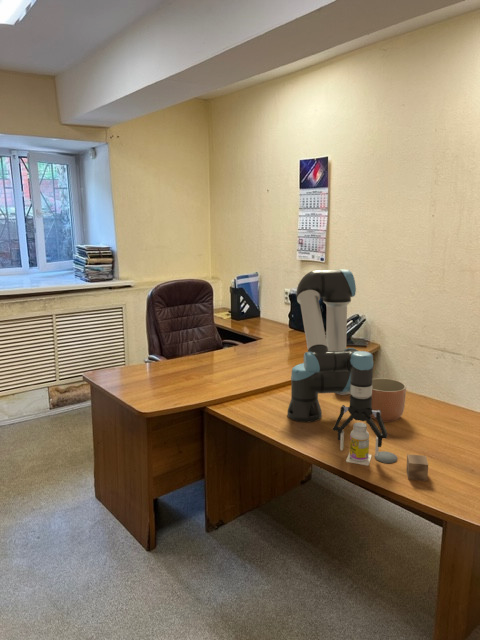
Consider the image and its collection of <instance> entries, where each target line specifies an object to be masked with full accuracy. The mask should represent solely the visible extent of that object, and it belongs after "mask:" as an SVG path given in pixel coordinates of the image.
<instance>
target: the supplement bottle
mask: <svg viewBox="0 0 480 640" xmlns="http://www.w3.org/2000/svg"><path fill="white" fill-rule="evenodd" d="M352 428H353V429H352V430H351V431H350V435H349V440H350V441H349V452H350V457H351V459H353V460H355V461H360V462H361V461H366V460H367V459H368V455H369V454H370V451H369V450H370V447H369V446H370V433H369V431H368V430H367V429H368V428H367V423H365V422H361V421H360V422H355V423H353V426H352Z"/></svg>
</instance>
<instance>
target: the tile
mask: <svg viewBox="0 0 480 640" xmlns="http://www.w3.org/2000/svg"><path fill="white" fill-rule="evenodd" d="M372 456H373V455H372V454H370V453H369V455H368V459H367V460H366V461H361V462H360V461H355V460H353V459H351V457H350V451H349V453H348V455H347V457H346V460H345V463H349V464H350V463H351V464H355V465H362V466H368V467H369V466H370V463H371V459H372Z"/></svg>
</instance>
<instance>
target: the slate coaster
mask: <svg viewBox="0 0 480 640" xmlns="http://www.w3.org/2000/svg"><path fill="white" fill-rule="evenodd" d="M374 459H375V460H376V461H378V462H380V463H383V464H395V463H396V462H398V456H397V455H396V454H395V453H393V452H389V451H385V450H384V451H378V456H375V455H374Z"/></svg>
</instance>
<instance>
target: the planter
mask: <svg viewBox="0 0 480 640" xmlns="http://www.w3.org/2000/svg"><path fill="white" fill-rule="evenodd" d="M406 393H407V385H406V384H405V383H404V382H402V381H400V380H397V379H392V378H385V377H378V378H373V379H372V395H371V397H372V410H374V411H377V410H380V411H381V418H382V420H383V423H391V422H394V421H395V422H396V421H397V420H398V419H401V417H402V415H403V413H404V410H405V403H406ZM371 418H372V420H373V419H374V420H375V421H377V419H376V417H375V416H374V414H372V415H371Z"/></svg>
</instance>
